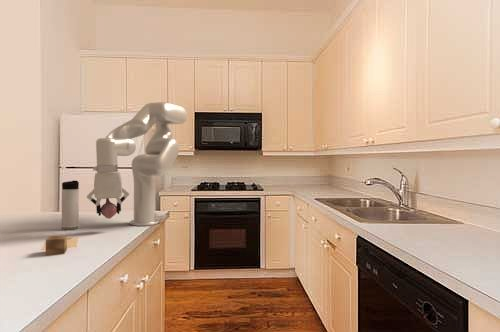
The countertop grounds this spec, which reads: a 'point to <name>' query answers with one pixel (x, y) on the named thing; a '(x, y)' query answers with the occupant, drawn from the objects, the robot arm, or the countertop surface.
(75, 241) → the letter
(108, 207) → the vegetable
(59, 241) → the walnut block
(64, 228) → the travel mug
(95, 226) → the countertop surface
